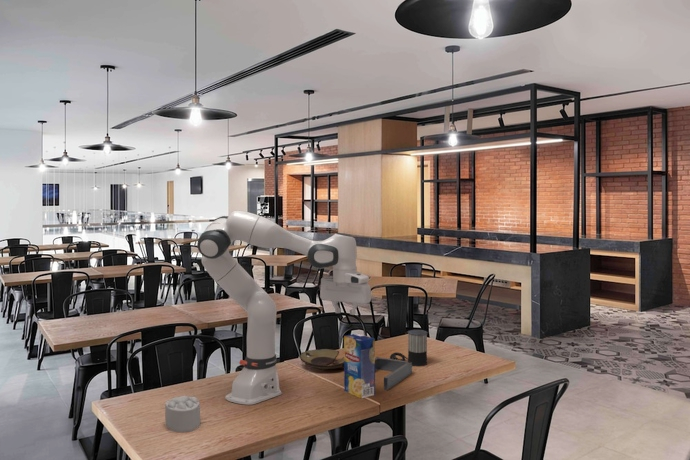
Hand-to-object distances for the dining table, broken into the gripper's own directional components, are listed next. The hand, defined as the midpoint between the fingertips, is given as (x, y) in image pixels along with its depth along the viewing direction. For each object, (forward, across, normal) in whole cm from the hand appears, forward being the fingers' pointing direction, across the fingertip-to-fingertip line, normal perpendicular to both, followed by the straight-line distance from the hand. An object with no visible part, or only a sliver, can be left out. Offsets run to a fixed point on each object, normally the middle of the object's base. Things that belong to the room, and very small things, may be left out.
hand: (345, 313), depth 202 cm
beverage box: (+33, 0, +11) cm, 35 cm away
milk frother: (+33, +1, +58) cm, 67 cm away
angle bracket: (+33, 0, +31) cm, 45 cm away
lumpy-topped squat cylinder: (+33, -37, -45) cm, 67 cm away
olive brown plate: (+34, -28, +33) cm, 55 cm away
